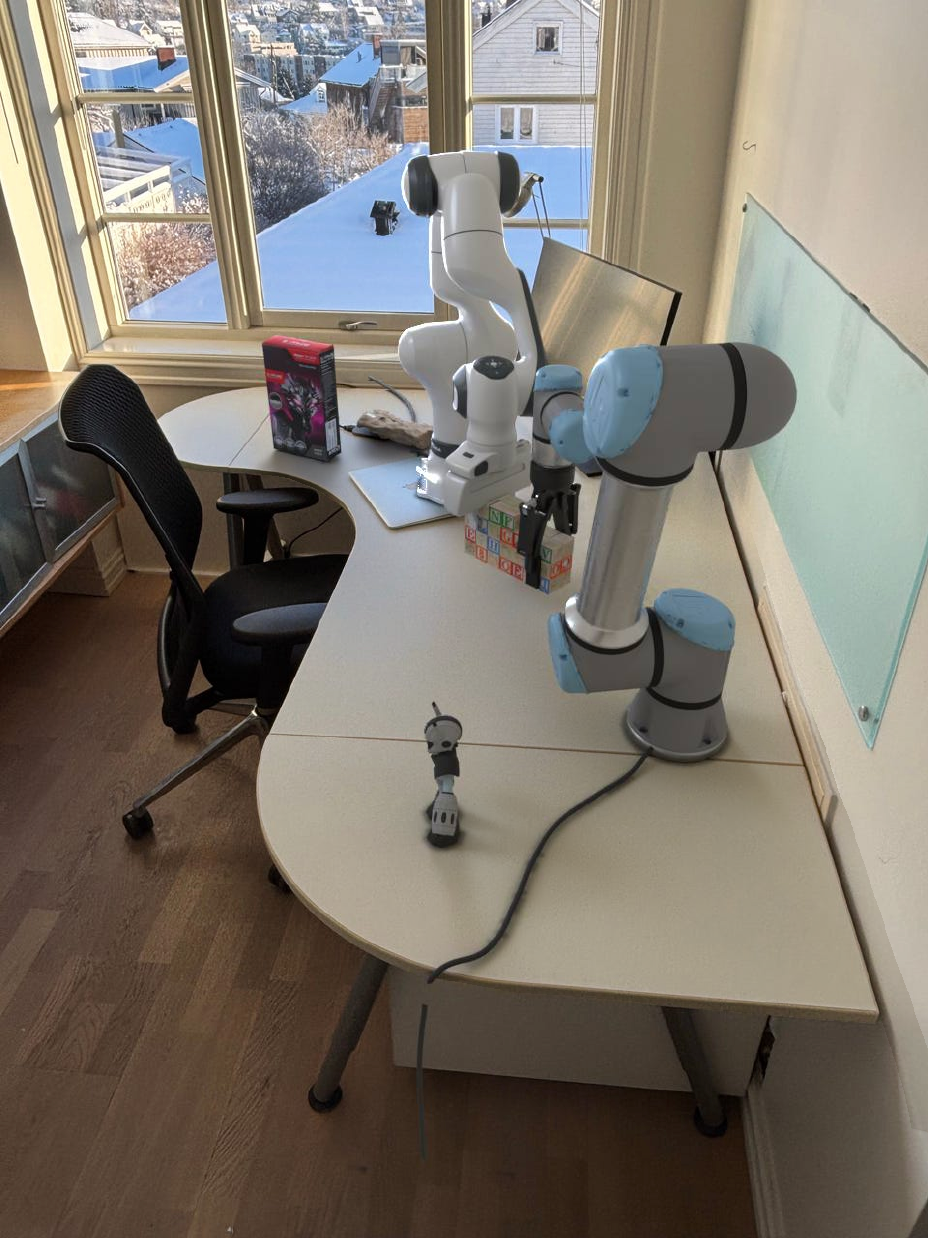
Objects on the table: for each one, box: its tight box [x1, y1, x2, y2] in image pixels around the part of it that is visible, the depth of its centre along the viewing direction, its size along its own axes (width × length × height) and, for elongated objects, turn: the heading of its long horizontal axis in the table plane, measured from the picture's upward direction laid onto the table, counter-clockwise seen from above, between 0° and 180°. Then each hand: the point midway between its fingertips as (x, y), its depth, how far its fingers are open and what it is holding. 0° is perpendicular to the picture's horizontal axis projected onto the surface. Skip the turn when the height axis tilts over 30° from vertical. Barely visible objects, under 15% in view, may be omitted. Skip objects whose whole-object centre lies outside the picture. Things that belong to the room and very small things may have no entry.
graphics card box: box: [261, 334, 342, 462], centre depth 222 cm, size 17×7×27 cm, turn 62°
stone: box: [356, 409, 434, 450], centre depth 235 cm, size 21×15×6 cm
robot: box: [423, 701, 463, 848], centre depth 121 cm, size 20×5×20 cm, turn 3°
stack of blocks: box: [464, 494, 575, 595], centre depth 167 cm, size 21×6×12 cm, turn 45°
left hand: (489, 520), depth 171 cm, fingers closed on stack of blocks, 6 cm apart
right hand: (545, 578), depth 166 cm, fingers closed on stack of blocks, 6 cm apart
